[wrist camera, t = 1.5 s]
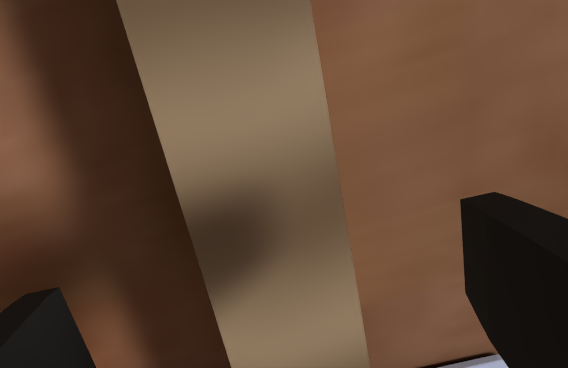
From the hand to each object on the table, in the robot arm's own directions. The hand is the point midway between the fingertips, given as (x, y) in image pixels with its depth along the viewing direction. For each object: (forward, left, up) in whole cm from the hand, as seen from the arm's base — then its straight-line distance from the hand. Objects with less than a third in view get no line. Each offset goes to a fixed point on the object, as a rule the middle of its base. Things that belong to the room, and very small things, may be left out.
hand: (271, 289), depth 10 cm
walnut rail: (+1, 0, -8) cm, 8 cm away
